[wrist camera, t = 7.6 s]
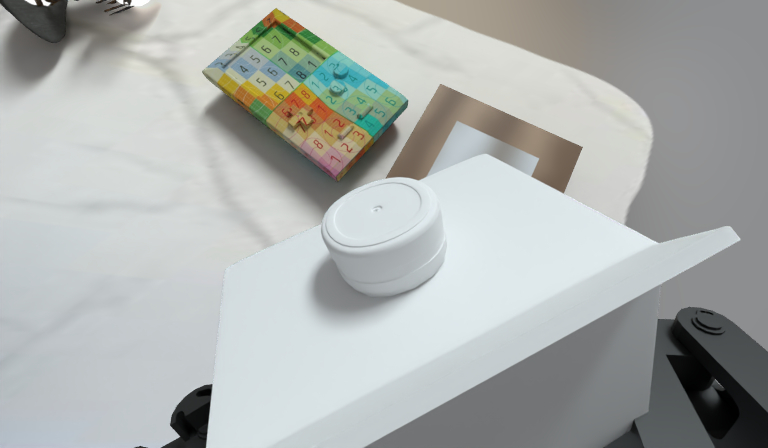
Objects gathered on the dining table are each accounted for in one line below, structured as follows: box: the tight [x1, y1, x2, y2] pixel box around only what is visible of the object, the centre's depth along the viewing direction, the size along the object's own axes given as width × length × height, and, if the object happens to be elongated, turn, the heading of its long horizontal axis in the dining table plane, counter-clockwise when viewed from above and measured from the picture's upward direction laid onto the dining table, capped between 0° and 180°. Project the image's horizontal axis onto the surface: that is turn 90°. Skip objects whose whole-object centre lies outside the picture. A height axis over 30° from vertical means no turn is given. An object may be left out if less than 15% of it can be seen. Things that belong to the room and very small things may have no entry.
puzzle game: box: [202, 8, 408, 182], centre depth 37 cm, size 12×5×20 cm
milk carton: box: [206, 154, 740, 448], centre depth 13 cm, size 7×7×19 cm
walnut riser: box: [386, 84, 583, 194], centre depth 33 cm, size 16×16×4 cm
